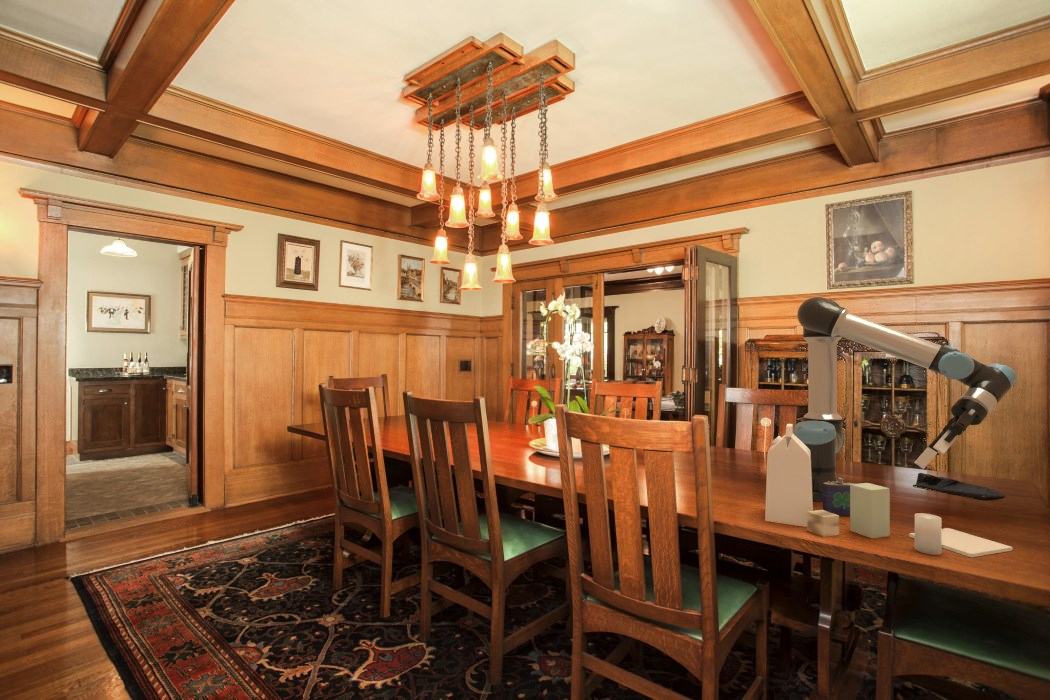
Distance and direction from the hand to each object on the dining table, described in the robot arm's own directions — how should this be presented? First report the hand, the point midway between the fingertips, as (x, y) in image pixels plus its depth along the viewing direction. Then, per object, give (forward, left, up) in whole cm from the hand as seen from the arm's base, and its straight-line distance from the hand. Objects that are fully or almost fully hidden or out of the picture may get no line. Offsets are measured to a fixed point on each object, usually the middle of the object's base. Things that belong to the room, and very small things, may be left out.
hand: (928, 458), depth 147 cm
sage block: (+5, -28, -17) cm, 33 cm away
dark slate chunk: (-17, +38, -17) cm, 46 cm away
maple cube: (+1, -39, -17) cm, 42 cm away
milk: (-11, -38, -17) cm, 43 cm away
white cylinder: (+18, -26, -17) cm, 35 cm away
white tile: (+17, -14, -17) cm, 27 cm away
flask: (-9, -22, -17) cm, 29 cm away
